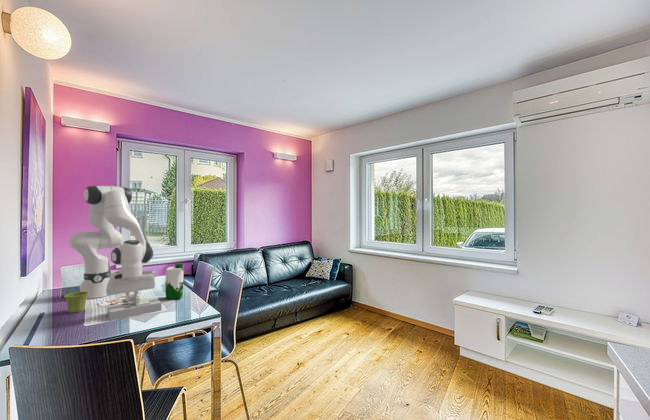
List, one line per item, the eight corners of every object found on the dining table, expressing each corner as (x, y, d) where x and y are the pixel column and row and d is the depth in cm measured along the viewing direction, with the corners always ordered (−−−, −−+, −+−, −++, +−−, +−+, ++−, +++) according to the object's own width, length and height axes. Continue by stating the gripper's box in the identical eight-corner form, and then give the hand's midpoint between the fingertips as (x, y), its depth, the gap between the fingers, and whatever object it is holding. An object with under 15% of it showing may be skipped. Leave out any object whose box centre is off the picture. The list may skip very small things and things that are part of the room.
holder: (122, 304, 156) (122, 299, 156) (135, 301, 160) (135, 297, 160) (126, 309, 147) (126, 304, 147) (139, 306, 151) (139, 302, 151)
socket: (107, 314, 140) (107, 305, 140) (155, 304, 154) (155, 297, 154) (110, 320, 131) (110, 312, 131) (161, 310, 145) (161, 302, 145)
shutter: (133, 301, 146) (133, 294, 146) (145, 299, 150) (145, 292, 150) (136, 306, 139) (137, 298, 139) (150, 304, 143) (150, 296, 143)
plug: (125, 303, 155) (125, 291, 155) (133, 302, 158) (133, 290, 158) (128, 307, 149) (128, 294, 149) (136, 306, 151) (136, 293, 151)
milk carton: (181, 299, 163) (181, 265, 164) (163, 301, 161) (164, 266, 161) (184, 295, 172) (184, 262, 172) (167, 297, 169) (167, 263, 169)
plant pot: (73, 315, 138) (74, 297, 139) (58, 313, 140) (59, 296, 141) (93, 308, 148) (93, 292, 148) (78, 307, 150) (78, 291, 150)
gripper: (154, 269, 151) (153, 295, 151) (106, 274, 137) (105, 303, 137) (157, 271, 147) (156, 297, 146) (107, 276, 133) (107, 306, 133)
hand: (131, 300), depth 142 cm, fingers closed
